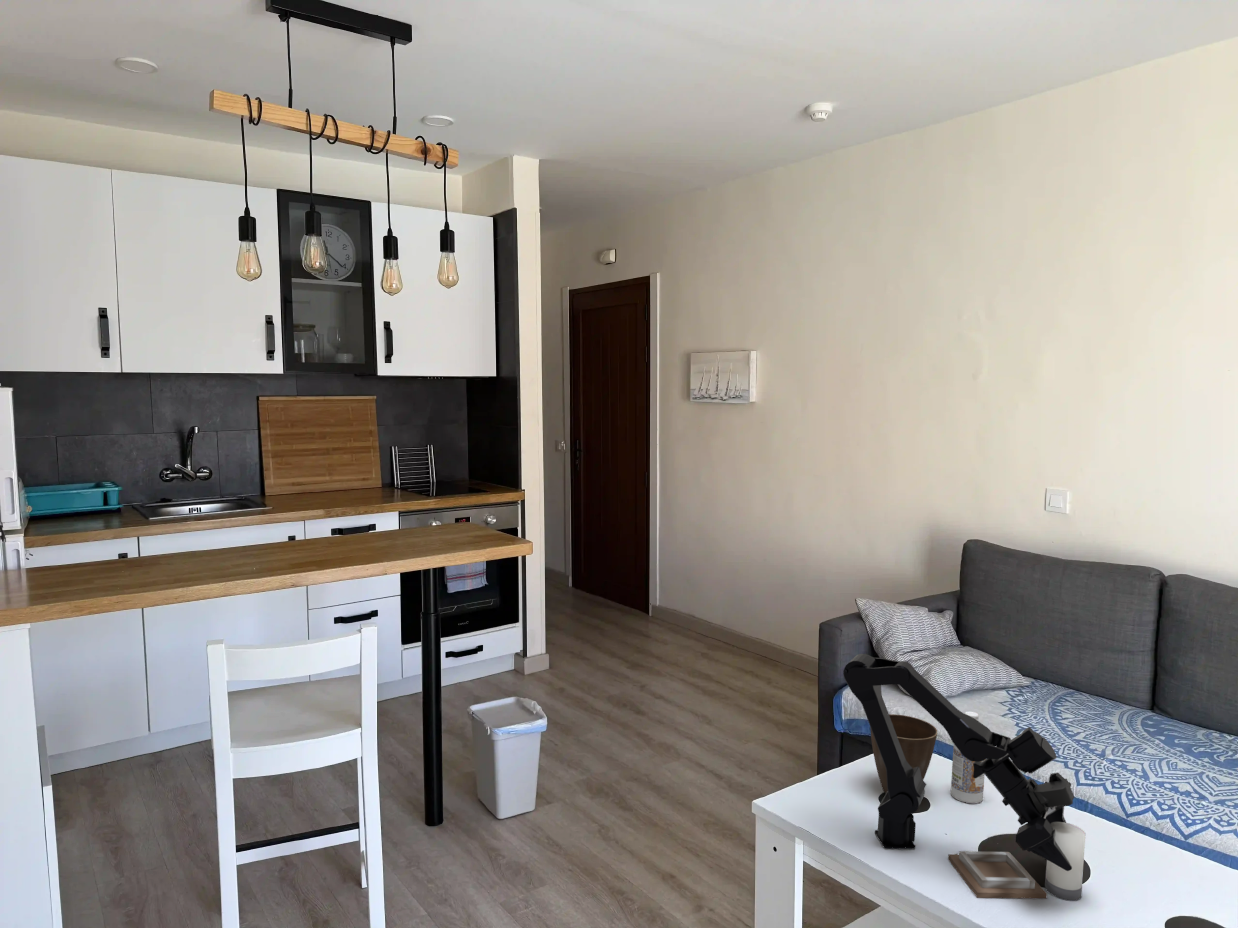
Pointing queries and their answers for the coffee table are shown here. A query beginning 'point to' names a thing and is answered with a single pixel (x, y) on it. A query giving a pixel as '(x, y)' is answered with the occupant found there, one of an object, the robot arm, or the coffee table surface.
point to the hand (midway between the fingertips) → (1073, 858)
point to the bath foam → (966, 776)
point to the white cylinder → (1072, 847)
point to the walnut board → (995, 875)
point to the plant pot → (909, 744)
